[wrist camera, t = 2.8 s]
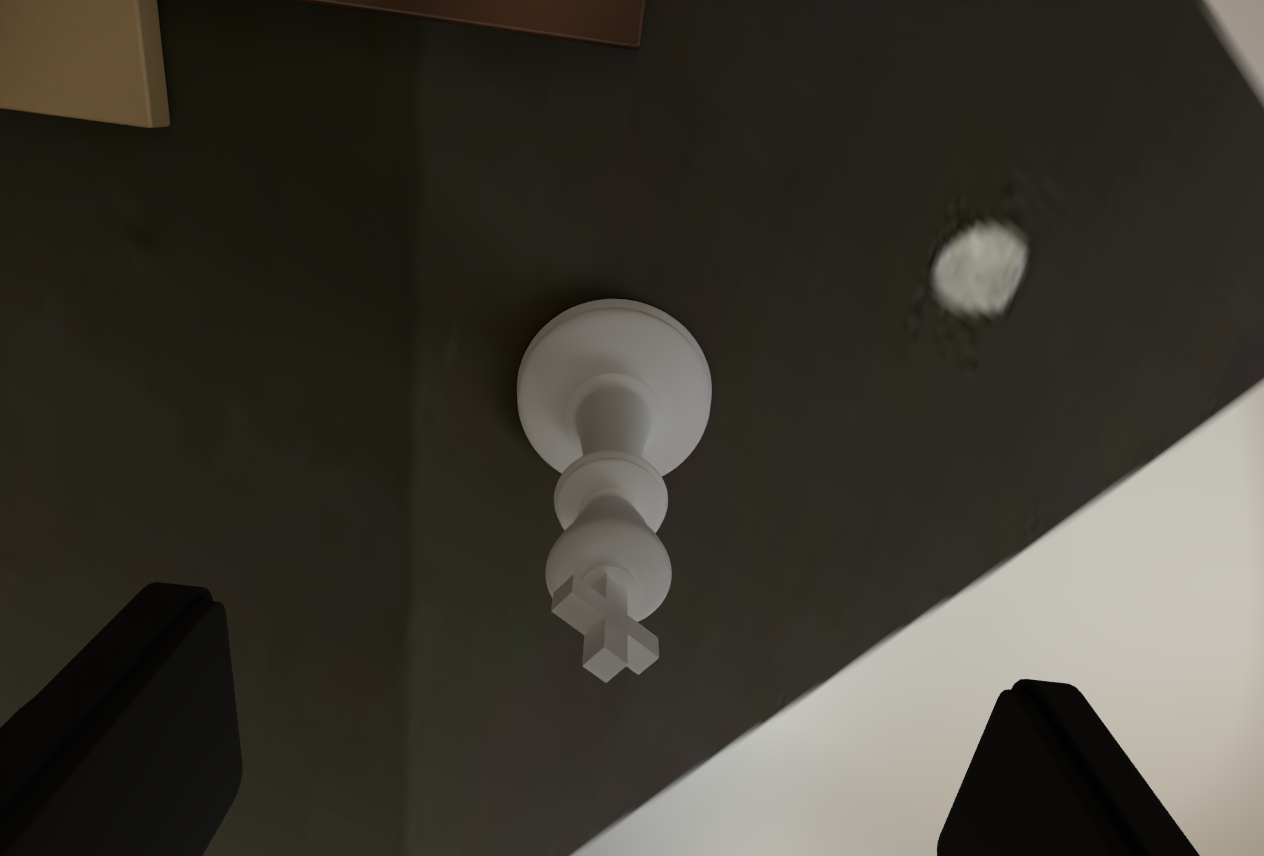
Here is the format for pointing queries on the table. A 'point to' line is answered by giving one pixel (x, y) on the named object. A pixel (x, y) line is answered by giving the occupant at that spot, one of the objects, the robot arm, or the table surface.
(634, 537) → the chess piece
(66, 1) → the spatula
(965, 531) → the table surface
